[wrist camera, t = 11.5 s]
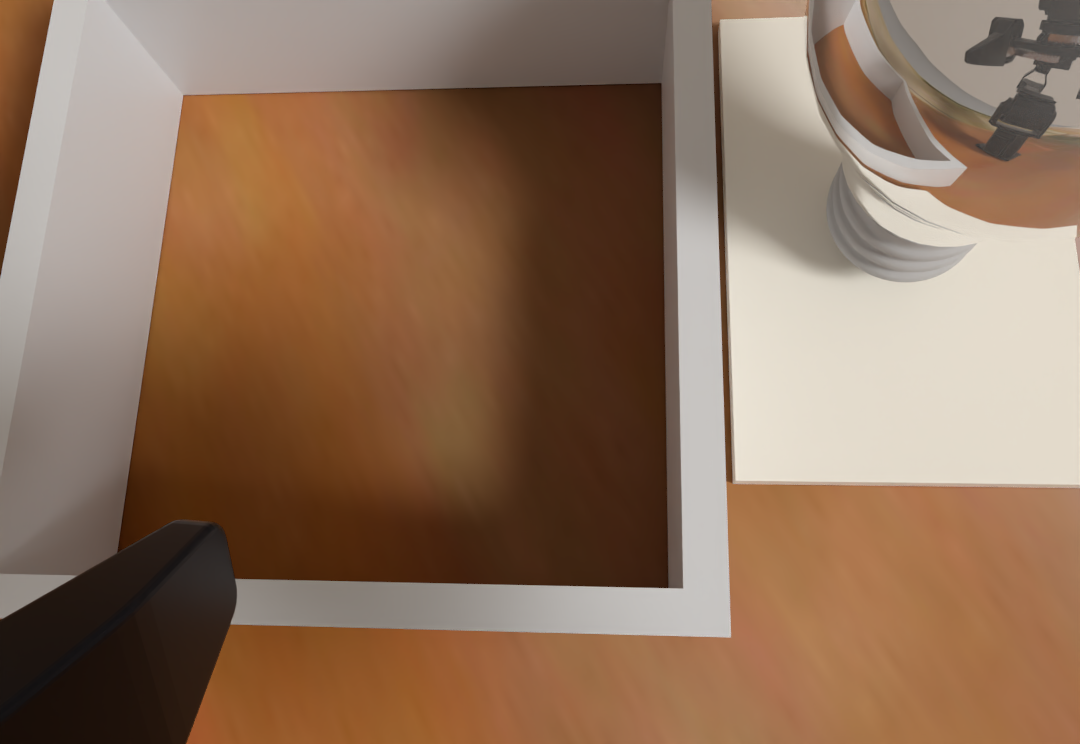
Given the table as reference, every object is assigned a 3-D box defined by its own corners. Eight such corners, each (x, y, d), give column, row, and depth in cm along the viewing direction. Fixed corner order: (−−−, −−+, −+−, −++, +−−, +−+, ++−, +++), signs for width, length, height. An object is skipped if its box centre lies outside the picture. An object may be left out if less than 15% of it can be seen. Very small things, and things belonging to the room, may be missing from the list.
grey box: (705, 632, 20) (730, 637, 15) (74, 616, 21) (-66, 616, 17) (691, 55, 24) (708, -71, 19) (159, 70, 25) (62, -45, 20)
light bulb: (697, 151, 22) (787, -348, 11) (966, 73, 22) (1348, -513, 11) (793, 412, 20) (1029, 149, 9) (1088, 328, 20) (1711, -48, 9)
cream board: (1098, 488, 20) (1109, 484, 19) (732, 483, 21) (735, 480, 20) (1032, 22, 23) (1041, 9, 23) (717, 31, 24) (720, 19, 23)
